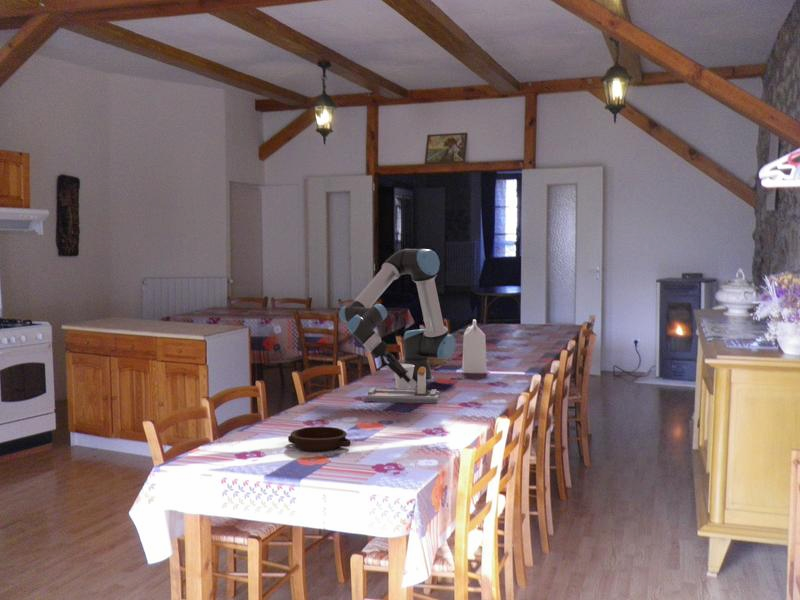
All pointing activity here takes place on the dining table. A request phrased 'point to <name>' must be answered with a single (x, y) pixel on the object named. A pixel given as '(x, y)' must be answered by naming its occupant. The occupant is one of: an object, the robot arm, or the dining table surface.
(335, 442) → the dish
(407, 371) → the robot arm
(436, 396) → the switch panel
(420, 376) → the lever
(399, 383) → the cup
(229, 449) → the dining table surface
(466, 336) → the milk
